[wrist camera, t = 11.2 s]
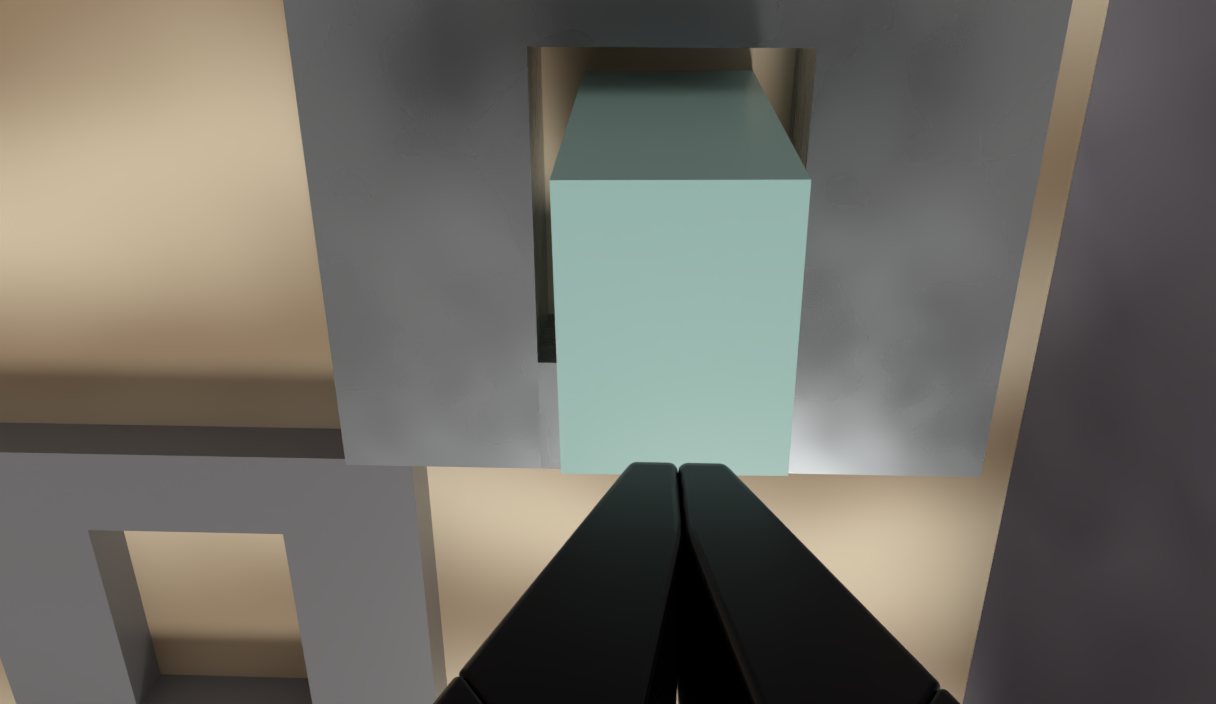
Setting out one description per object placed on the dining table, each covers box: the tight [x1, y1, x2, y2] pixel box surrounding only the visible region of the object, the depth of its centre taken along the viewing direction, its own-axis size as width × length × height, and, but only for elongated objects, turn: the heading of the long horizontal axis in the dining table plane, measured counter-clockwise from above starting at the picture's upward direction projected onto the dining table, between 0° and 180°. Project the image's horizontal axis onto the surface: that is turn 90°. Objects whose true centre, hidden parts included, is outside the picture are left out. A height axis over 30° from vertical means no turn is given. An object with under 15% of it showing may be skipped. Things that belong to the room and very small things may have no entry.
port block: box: [283, 0, 1073, 477], centre depth 17 cm, size 10×12×2 cm
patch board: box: [0, 0, 1109, 704], centre depth 21 cm, size 22×24×1 cm
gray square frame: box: [0, 423, 447, 704], centre depth 23 cm, size 9×10×1 cm
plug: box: [549, 70, 811, 476], centre depth 15 cm, size 4×3×7 cm
